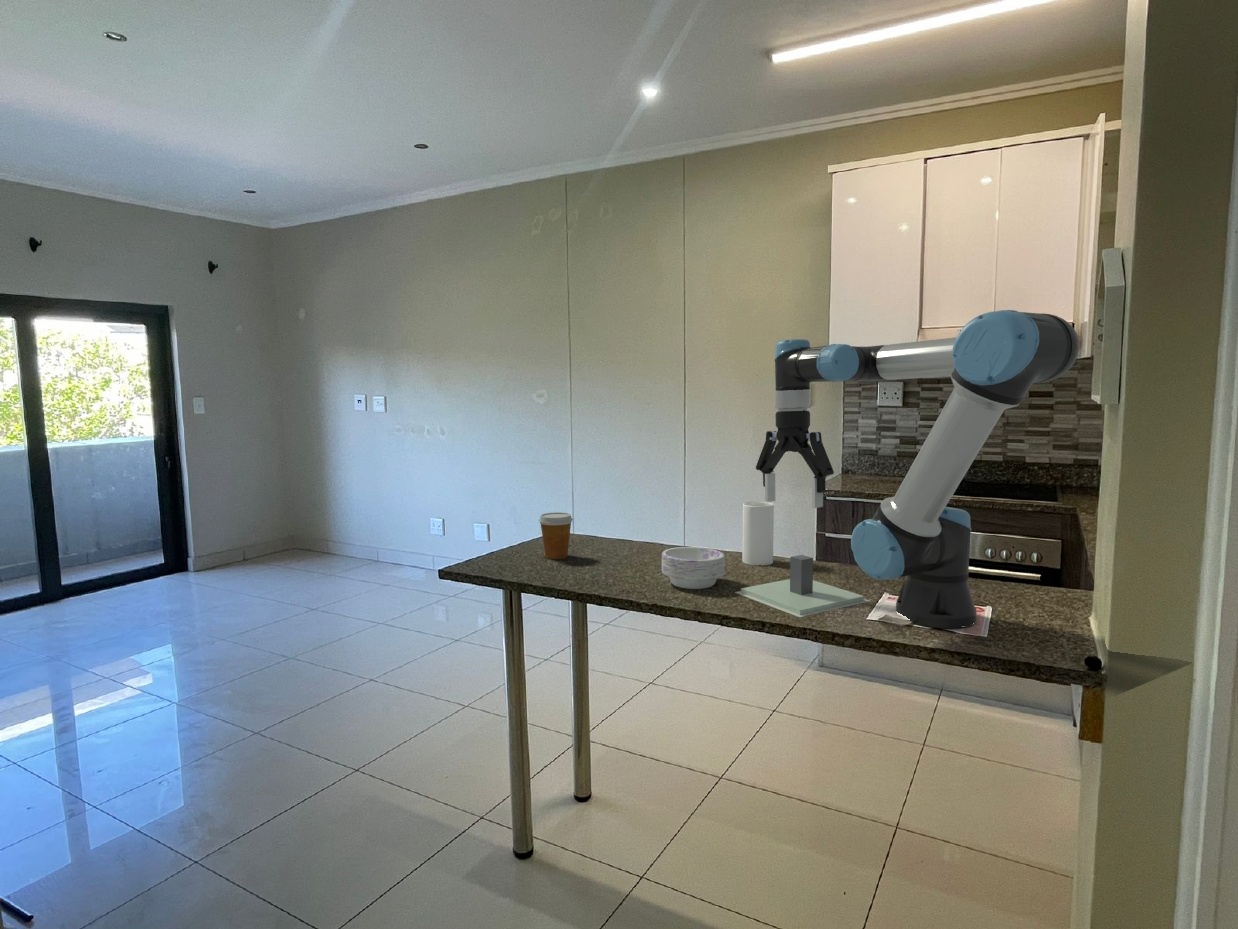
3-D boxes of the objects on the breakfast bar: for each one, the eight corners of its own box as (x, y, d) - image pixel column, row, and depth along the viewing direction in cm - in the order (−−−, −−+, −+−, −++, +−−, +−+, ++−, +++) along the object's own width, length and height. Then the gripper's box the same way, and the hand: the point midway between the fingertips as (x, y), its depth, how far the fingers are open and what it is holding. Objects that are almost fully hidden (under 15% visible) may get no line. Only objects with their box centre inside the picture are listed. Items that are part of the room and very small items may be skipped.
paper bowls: (735, 582, 175) (735, 550, 174) (706, 597, 162) (706, 563, 161) (681, 573, 183) (680, 543, 182) (649, 587, 171) (649, 555, 170)
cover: (864, 600, 157) (865, 560, 156) (799, 615, 148) (800, 572, 147) (802, 580, 173) (802, 544, 172) (740, 592, 164) (741, 554, 163)
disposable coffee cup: (539, 553, 207) (538, 512, 206) (572, 552, 208) (571, 511, 207) (539, 561, 198) (538, 518, 196) (574, 560, 199) (573, 517, 197)
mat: (870, 602, 157) (870, 601, 157) (799, 619, 146) (799, 617, 146) (802, 580, 175) (802, 579, 175) (734, 594, 164) (734, 592, 164)
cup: (775, 565, 190) (776, 506, 188) (744, 565, 190) (745, 506, 188) (769, 558, 198) (770, 501, 196) (740, 558, 198) (740, 501, 197)
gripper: (850, 409, 151) (850, 508, 153) (762, 409, 171) (763, 497, 173) (828, 410, 147) (828, 512, 149) (740, 410, 167) (741, 500, 169)
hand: (793, 504), depth 161 cm, fingers open, 13 cm apart
